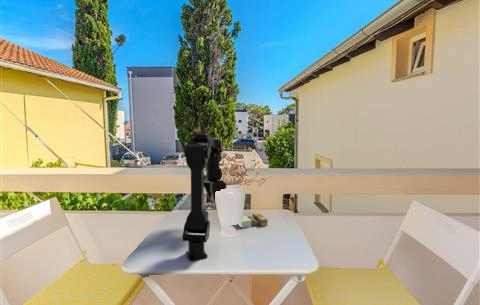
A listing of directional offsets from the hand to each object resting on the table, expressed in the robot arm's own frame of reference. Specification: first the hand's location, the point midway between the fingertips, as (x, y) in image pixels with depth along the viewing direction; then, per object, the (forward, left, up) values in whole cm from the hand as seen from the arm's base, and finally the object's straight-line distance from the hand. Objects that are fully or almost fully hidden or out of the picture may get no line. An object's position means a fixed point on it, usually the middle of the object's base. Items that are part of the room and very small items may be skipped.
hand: (213, 200), depth 128 cm
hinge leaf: (-4, -15, -12) cm, 20 cm away
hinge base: (-4, -20, -12) cm, 24 cm away
